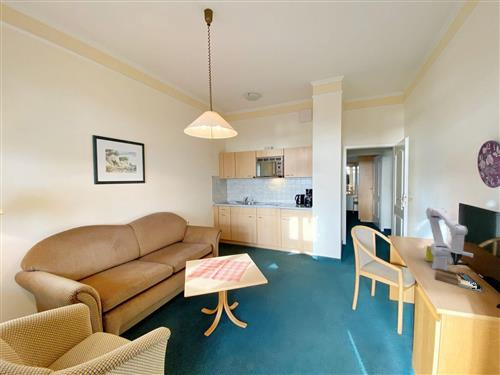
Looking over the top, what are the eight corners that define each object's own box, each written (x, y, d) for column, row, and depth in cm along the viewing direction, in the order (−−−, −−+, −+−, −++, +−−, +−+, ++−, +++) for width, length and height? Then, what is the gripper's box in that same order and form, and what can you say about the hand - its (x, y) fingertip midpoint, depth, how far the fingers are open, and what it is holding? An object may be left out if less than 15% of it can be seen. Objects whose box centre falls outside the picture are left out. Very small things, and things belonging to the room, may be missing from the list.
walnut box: (435, 273, 140) (435, 267, 140) (456, 279, 134) (456, 272, 133) (435, 279, 133) (435, 272, 133) (457, 285, 126) (457, 278, 126)
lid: (457, 280, 132) (457, 275, 132) (475, 284, 127) (475, 280, 126) (457, 284, 127) (457, 279, 127) (476, 289, 122) (477, 284, 121)
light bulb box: (450, 264, 155) (451, 250, 154) (439, 261, 161) (440, 247, 160) (457, 262, 159) (458, 248, 158) (446, 259, 165) (447, 246, 164)
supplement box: (425, 258, 165) (426, 245, 164) (435, 261, 161) (436, 247, 160) (425, 261, 160) (426, 247, 159) (436, 263, 157) (437, 249, 156)
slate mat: (456, 278, 134) (457, 278, 134) (478, 284, 128) (478, 284, 128) (458, 286, 125) (458, 285, 125) (481, 292, 119) (481, 292, 119)
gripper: (441, 242, 134) (440, 263, 135) (474, 248, 125) (472, 270, 126) (441, 240, 140) (440, 259, 141) (473, 245, 130) (471, 266, 131)
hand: (455, 264), depth 134 cm, fingers closed
